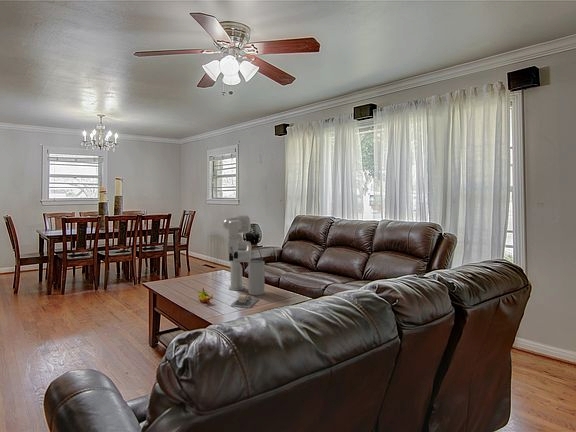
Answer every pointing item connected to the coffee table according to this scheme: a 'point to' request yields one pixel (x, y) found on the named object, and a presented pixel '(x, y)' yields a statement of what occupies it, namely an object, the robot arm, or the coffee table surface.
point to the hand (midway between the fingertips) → (233, 259)
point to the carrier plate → (248, 304)
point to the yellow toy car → (204, 296)
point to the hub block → (243, 298)
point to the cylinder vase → (256, 277)
